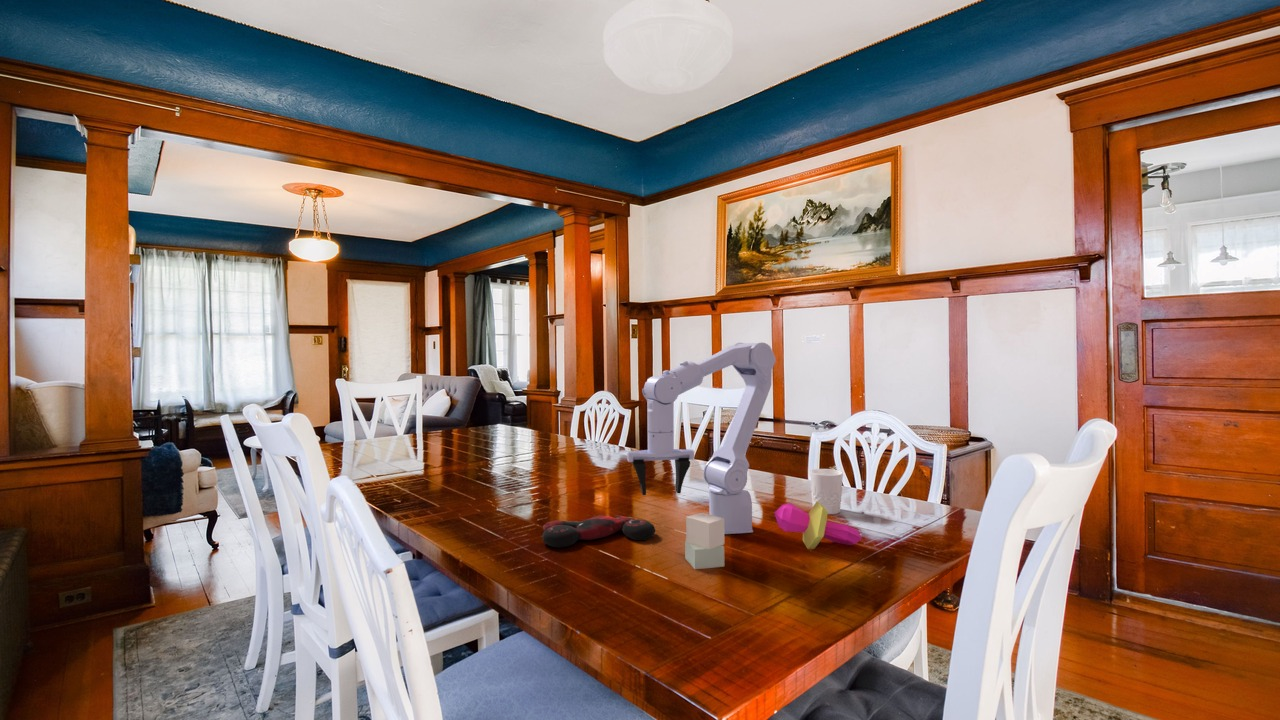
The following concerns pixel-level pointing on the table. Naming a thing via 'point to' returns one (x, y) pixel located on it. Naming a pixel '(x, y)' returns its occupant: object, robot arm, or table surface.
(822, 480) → the white cup
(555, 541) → the toy motorcycle
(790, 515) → the toy
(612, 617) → the table surface
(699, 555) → the sage base brick
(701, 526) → the cream brick
